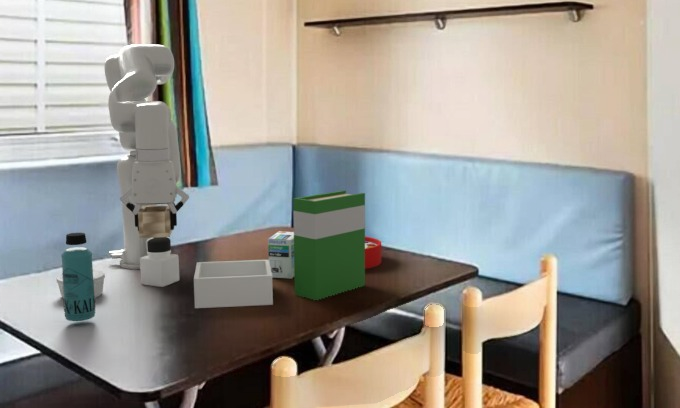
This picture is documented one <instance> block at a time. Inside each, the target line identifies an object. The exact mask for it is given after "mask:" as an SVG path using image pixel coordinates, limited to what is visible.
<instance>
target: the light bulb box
mask: <svg viewBox="0 0 680 408" xmlns="http://www.w3.org/2000/svg"><path fill="white" fill-rule="evenodd" d="M267 245H268V247H267V250H268V260H269V263H270V267H271V272H272V279H274V278H275V279H276V278H277V279H290V280H291V279H293V278H294V231H282V230H279V231H277V232H276V233H274V234H273V235H272V236H270V237H269V238H268V239H267Z"/></svg>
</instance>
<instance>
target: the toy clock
mask: <svg viewBox="0 0 680 408" xmlns="http://www.w3.org/2000/svg"><path fill="white" fill-rule="evenodd" d="M380 264H382V241H381V240H380V239H378V238H375V237H370V236H365V270H367V269H370V268H375V267H377V266H380Z"/></svg>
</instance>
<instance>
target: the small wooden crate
mask: <svg viewBox="0 0 680 408" xmlns="http://www.w3.org/2000/svg"><path fill="white" fill-rule="evenodd" d="M170 213H171V210H170V208H169V206H168V205H167V204H160V205H157V206H142V208H141V209H140V211H139V212H138V222H139V238H156V237H167V238H170V237H171V235H172V232H173V230H171V226H170Z"/></svg>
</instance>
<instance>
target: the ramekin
mask: <svg viewBox="0 0 680 408" xmlns="http://www.w3.org/2000/svg"><path fill="white" fill-rule="evenodd" d="M105 275H106V274H105V272H104V271H102V270H98V269H93V281H94V287H95V288H94V296H95V297H94V298H95V299H96V298H98V297H100V296H101V294H103V290H104V282H105V277H106V276H105ZM56 283H57V285H58V289H59V292H60V296H61V297H62V299H64V291H63V287H62V286H63V274H62V273H61V274H59V275H58V276H56Z"/></svg>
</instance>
